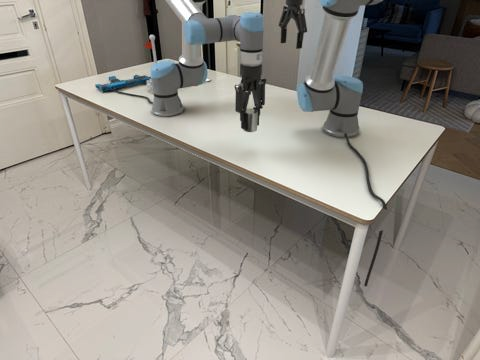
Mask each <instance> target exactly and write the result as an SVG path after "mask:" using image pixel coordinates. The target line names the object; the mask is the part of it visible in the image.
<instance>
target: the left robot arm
mask: <svg viewBox="0 0 480 360" xmlns="http://www.w3.org/2000/svg"><path fill="white" fill-rule="evenodd" d="M164 1H165V2H166V3H167V4H168V6H169V8H170V9H171V10H172V11H173V12H174V14H175V15H176V17H177V18H178V20H180V21H181V55H180V56H179V57H178V62H177V63H176V62H175V61H174V60H162V61H157V63H155V64H154V63H153V64H152V65H151V66H150V68H149V70H150V77H151V80H152V86H153V93H152V94H153V100H152V101H151V100H150V98H149V97H148V96H145V95H139V94H134V93H128V92H123V91H120V90H117V89H114V91H113V92H116V93H119V94H121V95H127V96H132V97H138V98H143V99H146V100H147V101H148V103H149V104H152V106H151V111H152V114H153V115H154V116H157V117H174V116H177V115H180V114H181V113H183V112H184V105H183V103H182V100H181V98H180V96H179V91H178V90H180V89H185V88H190V87H198V86H202V85H204V84H205V83H206V82H205V81H206V79H208V73H209V72H208V66H207V63H206V62H205V61H204V58H203V57H202V55H201V54H202V53H201V52H202V51H201V50H202V45H207V44H215V43H223V42H234V41H236V42H239V51H240V52H239V63H240V65H239V74H240V76H241V79H240V83H239V84H235V85H234V91H235V105H234V106H235V107H234V108H235V109H234V110H235V111H234V112H236V113H239V121H240V129H241V130H243V129H244V130H247V128H248V113H246V110H247V109H248V105H249V100H250V96H251V95H252V99H253V104H254V106H253V107H252V109H256V110H257V111H258V120H257V127H258V126H260V116H261V109H262V110H263V108H264V106H265V105H266V84H267V78H265V77H261V76H262V75H263V64H262V63H263V51H264V31H265V30H264V29H265V25H264V15H263V14H262V13H260V12H251V11H250V12H243V13H241V14H240V16H239V15H237V14H229V15H226V16H223V17H212V18H210V17H209V18H207V16H206V15H205V13H203V4H205V2H206V1H207V0H164ZM244 130H243V131H244Z"/></svg>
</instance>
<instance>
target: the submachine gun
mask: <svg viewBox="0 0 480 360" xmlns="http://www.w3.org/2000/svg"><path fill="white" fill-rule="evenodd" d="M150 79H151V76H148V75H146V74H145V75H144V74H143V75H139V74H134V75H133V78H129V79H122V80H120V79H119V78H117V76H115V75H112V76H108V80H109V81H110V82H109V83H104V84H100V83H96V84H94V85H95V89H97V90H99V92H107V91H113V92H115V91H114V89H115V90H117V89H120V88H121V89H122V88H126V87H129V86H130V87H131V86H134V85H140V84H147V82H146V81H147V80H149V81H150Z"/></svg>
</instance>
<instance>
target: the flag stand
mask: <svg viewBox="0 0 480 360" xmlns="http://www.w3.org/2000/svg"><path fill="white" fill-rule="evenodd" d="M155 40H156V36H155V35H154V34H150V35H149V41H148V42H146V43H145V44H143V47H145V48H147V49H151V50H152V56H153V65H154V64H155V63H158V59H157V51H156V45H155ZM146 87H147V88H149V92H150V93H151V94H154V93H153V86H152V80H151V79H150V80H147V81H146Z"/></svg>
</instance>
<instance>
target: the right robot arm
mask: <svg viewBox="0 0 480 360" xmlns="http://www.w3.org/2000/svg"><path fill="white" fill-rule="evenodd" d="M383 1H384V0H319V2H320V4H321V6H322V11H323V13H324V14H325V15H324V17H323V21H322V26H321V30H320V34H319V38H318V41H317V46H316V50H315V54H314V58H313V62H312V66H311V71H310V73H308V74H307V75H306V76H305V78H304V82H300V83H298V85H297V88H296V97H297V102H298V106H299V108H300V109H301V111H303V112H305V113H308V112H309V113H314V112H324V111H329V112H328V115H327V117H326V120H325V121H324V123H323V126H322V130H323V132H324V133H325V134H326V135H329V136H332V137H335V138H339V139H341V138H342V139H345V140H346V143H347V145H348V147H349V148H350V149H351V150H352V151H353V152H354V153H355V154H356V156H358V157H359V159H360V160H361V162H362V163H363V166H364V170H365V176H366V184H367V188H368V192H369V193H370V195H371V196H372V197H373V198H375V199H376V200H378V201H379V202H380V203H381V205H382V207H383V209H384V210H387V209H388V207H387V204H386V201H385V200H384V199H383V198H382V197H380V196H378V195H377V194H375V192H374V190H373V189H372V185H371V179H370V172H369V167H368V164H367V161H366V159H365V158H364V157H363V155H361V153H360V152H359V151H358V150H357V149H356V148H355V147H354V146H353V145H352V143H351V142H350V140H349V138H354V137H356V136H357V135H359V132H360V125H359V118H358V117H359V116H358V114H359V111H360V110H359V109H360V105H361V100H362V95H363V90H364V83H363V81H362V80H360V79H359V78H356V77H353V76H348V75H340V74H339V75H336V76H335V77H334V74H335V71H336V68H337V65H338V63H339V59H340V55H341V52H342V49H343V45H344V42H345V40H346V36H347V33H348V30H349V27H350V23H351V20H352V19H353V18H355V17H356V16H357V15H358V13H359V10H360V8H361V6H362V7H363V6H372V5H377V4H379V3H381V2H383ZM303 3H304V0H285V5H283V7H282V13H281V16H280V19H279V22H278V27H279V28H280V44H285V43H287V33H288V25H289V23H290V22H291V19H292V20H294V22H295V25H296V28H297V31H298V32H297V34H296V35H297V36H296V45H295V48H296V50H299V49H300V50H301V49H303V43H304V35H305V33H308V27H307V26H308V25H307V20H306V15H305V14H306V13H305V12H306V9H305V8H301V6H302V5H303ZM333 77H334V78H333ZM383 232H384V230H383V229H382V230H380V231H378V236H377V241H376V244H375V248H374V252H373V255H372V258H371V262H370V264H369V268H368V271H367V274H366V278H365V281H364V284H363V286H364V287H367V286H368V284H369V280H370V277H371V274H372V271H373V268H374V265H375V261H376V259H377V255H378V252H379V248H380V244H381V241H382V237H383Z"/></svg>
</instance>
